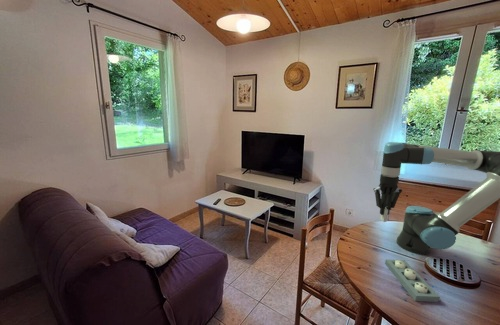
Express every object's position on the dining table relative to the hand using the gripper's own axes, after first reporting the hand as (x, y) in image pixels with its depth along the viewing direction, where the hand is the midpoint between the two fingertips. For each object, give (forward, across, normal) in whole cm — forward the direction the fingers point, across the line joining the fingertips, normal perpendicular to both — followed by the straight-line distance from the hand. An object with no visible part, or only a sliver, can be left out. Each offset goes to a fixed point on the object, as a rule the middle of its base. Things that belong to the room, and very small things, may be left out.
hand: (383, 220), depth 111 cm
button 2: (+19, -4, +17) cm, 26 cm away
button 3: (+20, -3, +24) cm, 32 cm away
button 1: (+20, -4, +10) cm, 23 cm away
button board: (+20, -4, +17) cm, 27 cm away
